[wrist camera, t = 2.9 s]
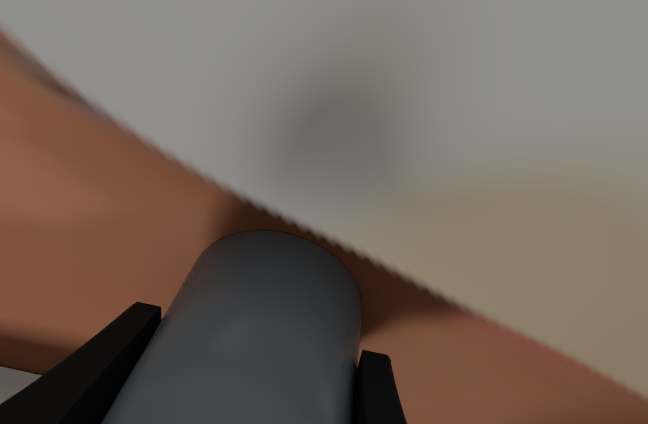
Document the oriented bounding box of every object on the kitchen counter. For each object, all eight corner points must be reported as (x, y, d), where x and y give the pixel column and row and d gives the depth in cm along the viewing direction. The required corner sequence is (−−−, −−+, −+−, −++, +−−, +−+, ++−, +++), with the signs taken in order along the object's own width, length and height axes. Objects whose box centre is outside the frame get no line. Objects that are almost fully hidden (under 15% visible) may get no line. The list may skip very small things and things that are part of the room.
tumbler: (380, 252, 12) (363, 559, 7) (344, 380, 15) (310, 683, 9) (190, 213, 13) (3, 479, 7) (187, 346, 15) (52, 623, 9)
